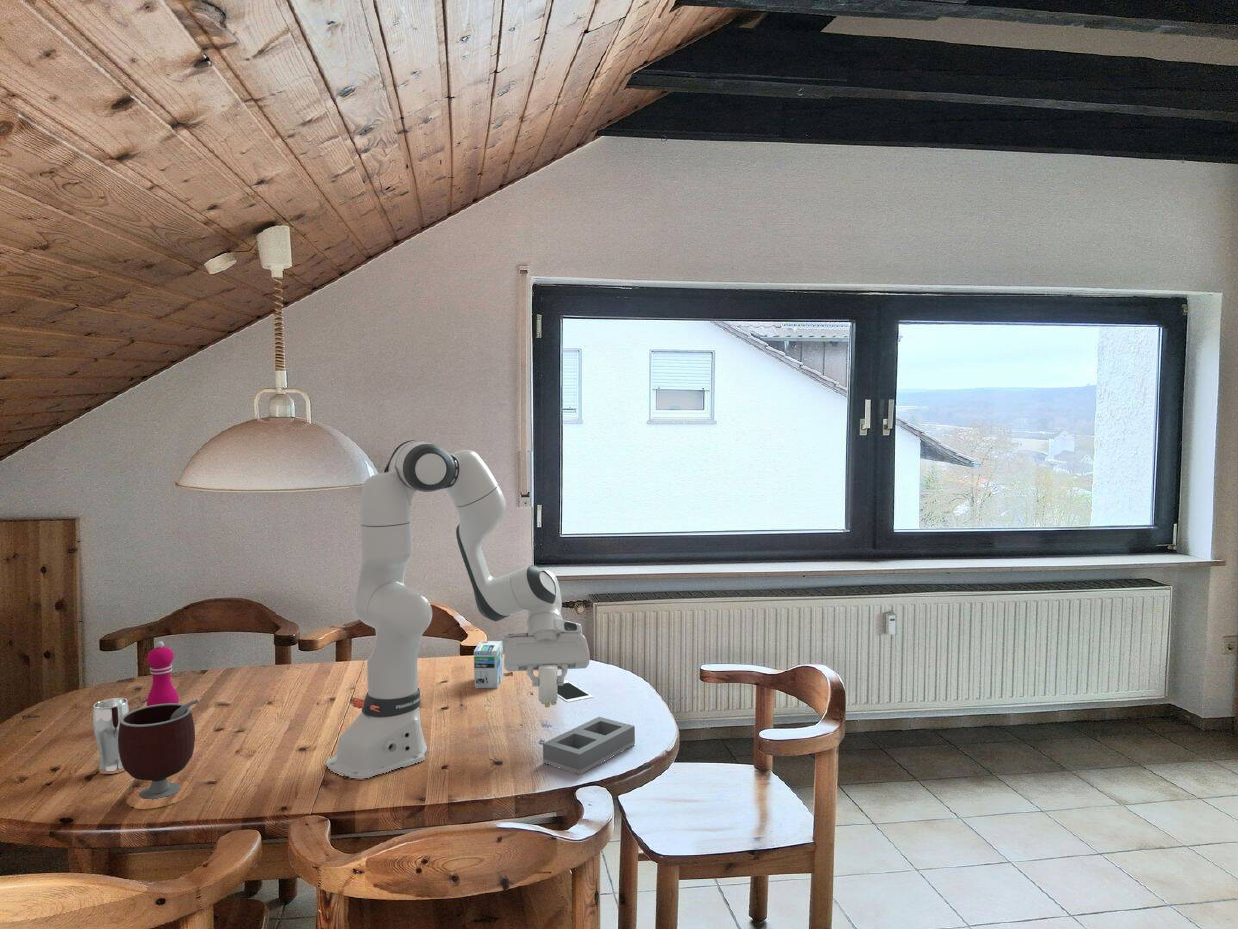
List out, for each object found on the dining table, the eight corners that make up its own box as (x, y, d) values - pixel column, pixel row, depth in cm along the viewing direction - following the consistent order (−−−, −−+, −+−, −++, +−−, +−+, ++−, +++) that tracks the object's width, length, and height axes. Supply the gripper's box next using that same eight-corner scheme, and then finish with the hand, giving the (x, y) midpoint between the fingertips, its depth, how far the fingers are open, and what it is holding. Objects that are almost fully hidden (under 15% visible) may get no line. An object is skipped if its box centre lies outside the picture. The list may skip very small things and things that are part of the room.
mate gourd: (106, 812, 175) (101, 712, 173) (144, 781, 189) (139, 689, 187) (185, 811, 175) (180, 711, 173) (217, 780, 189) (212, 688, 187)
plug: (548, 709, 204) (548, 670, 203) (534, 705, 206) (534, 667, 206) (561, 704, 207) (561, 666, 207) (547, 700, 210) (547, 663, 209)
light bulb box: (498, 689, 246) (497, 650, 246) (473, 689, 247) (472, 651, 246) (503, 677, 257) (503, 640, 256) (480, 677, 257) (479, 640, 256)
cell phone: (566, 682, 253) (566, 680, 253) (593, 698, 239) (593, 696, 239) (541, 687, 249) (541, 685, 249) (567, 704, 235) (567, 701, 235)
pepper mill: (151, 725, 221) (147, 646, 220) (144, 718, 227) (140, 641, 225) (183, 718, 226) (179, 641, 224) (174, 711, 231) (171, 635, 230)
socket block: (580, 775, 189) (579, 754, 189) (543, 763, 196) (542, 743, 195) (634, 745, 205) (634, 726, 205) (599, 735, 212) (598, 716, 211)
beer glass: (108, 763, 199) (104, 697, 197) (139, 763, 198) (135, 697, 197) (88, 776, 192) (85, 708, 190) (120, 776, 191) (116, 708, 190)
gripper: (502, 627, 211) (503, 680, 202) (587, 624, 214) (592, 676, 205) (502, 641, 216) (502, 693, 207) (585, 638, 219) (590, 689, 210)
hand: (548, 685), depth 206 cm, fingers closed on plug, 4 cm apart
